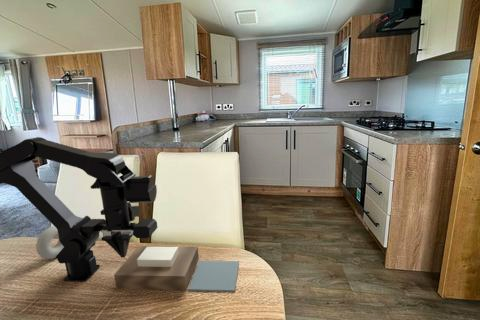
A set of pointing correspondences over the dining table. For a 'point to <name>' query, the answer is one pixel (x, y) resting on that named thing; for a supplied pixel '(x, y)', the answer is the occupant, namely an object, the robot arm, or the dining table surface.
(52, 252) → the donut
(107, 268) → the dining table surface
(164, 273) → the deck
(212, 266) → the mat
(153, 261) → the white rectangular block
